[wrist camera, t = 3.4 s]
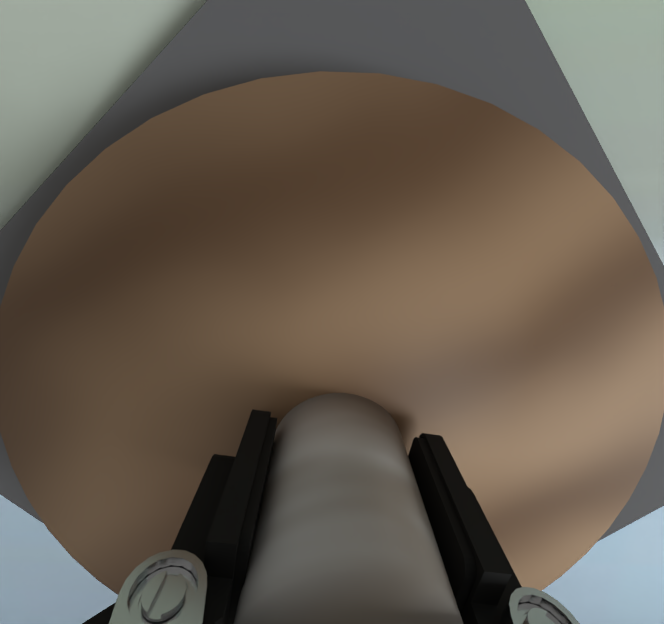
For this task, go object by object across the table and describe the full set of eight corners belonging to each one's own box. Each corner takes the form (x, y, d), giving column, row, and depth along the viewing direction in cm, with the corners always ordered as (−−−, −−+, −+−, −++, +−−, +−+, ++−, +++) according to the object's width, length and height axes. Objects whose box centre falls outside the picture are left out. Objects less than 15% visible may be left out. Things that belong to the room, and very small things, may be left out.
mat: (742, 441, 13) (761, 452, 12) (306, 682, 17) (306, 699, 16) (401, -191, 7) (408, -224, 7) (-124, 385, 11) (-148, 395, 11)
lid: (725, 449, 12) (1093, 676, 6) (308, 681, 16) (299, 962, 10) (396, -131, 7) (691, -1490, 1) (-101, 398, 11) (-594, 627, 5)
